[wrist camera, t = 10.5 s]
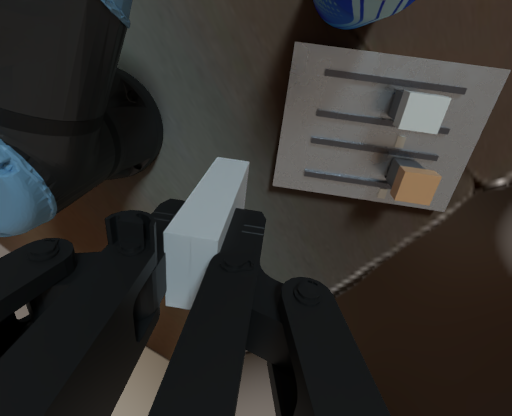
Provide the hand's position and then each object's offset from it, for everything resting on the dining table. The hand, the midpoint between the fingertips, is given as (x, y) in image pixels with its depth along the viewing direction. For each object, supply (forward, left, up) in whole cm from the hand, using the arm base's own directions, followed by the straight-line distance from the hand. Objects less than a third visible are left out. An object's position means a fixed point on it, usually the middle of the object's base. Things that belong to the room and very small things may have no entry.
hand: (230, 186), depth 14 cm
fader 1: (+16, +2, -26) cm, 31 cm away
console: (+14, -2, -28) cm, 32 cm away
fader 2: (+18, -6, -26) cm, 32 cm away
